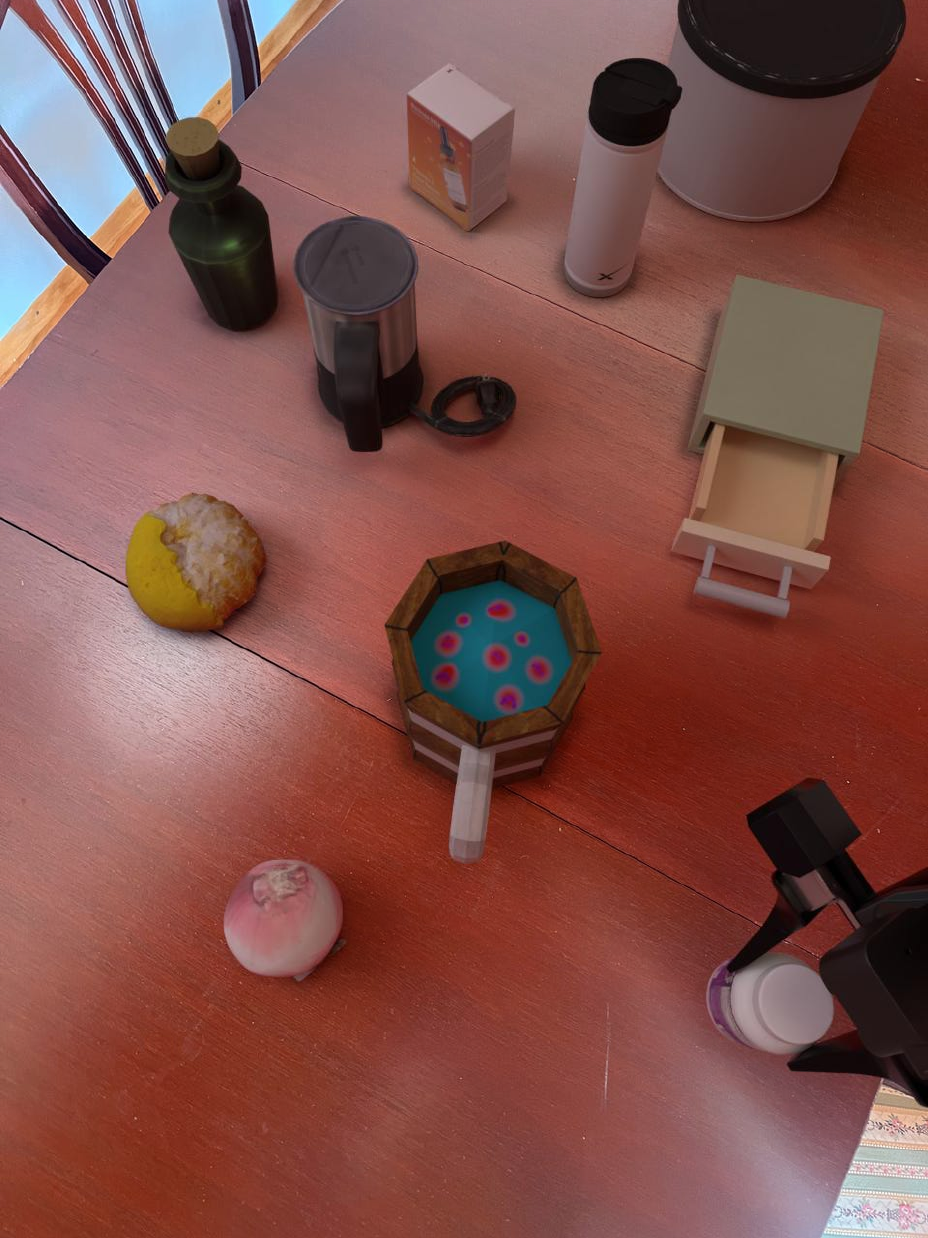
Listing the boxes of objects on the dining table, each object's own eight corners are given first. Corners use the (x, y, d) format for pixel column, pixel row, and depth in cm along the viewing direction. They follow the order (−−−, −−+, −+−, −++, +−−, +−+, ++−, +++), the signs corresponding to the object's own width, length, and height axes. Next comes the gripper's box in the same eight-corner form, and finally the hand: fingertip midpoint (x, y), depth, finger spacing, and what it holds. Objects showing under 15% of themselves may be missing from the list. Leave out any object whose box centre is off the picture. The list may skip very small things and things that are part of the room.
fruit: (278, 632, 74) (226, 598, 67) (159, 653, 77) (96, 622, 69) (276, 503, 78) (227, 458, 71) (163, 527, 81) (104, 486, 73)
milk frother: (306, 354, 84) (278, 229, 70) (475, 311, 86) (480, 181, 72) (349, 490, 79) (328, 384, 66) (528, 440, 81) (544, 328, 68)
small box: (408, 188, 92) (403, 91, 82) (449, 157, 93) (448, 58, 83) (468, 234, 90) (471, 140, 80) (509, 201, 91) (516, 105, 81)
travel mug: (615, 310, 87) (661, 122, 68) (551, 281, 88) (578, 88, 69) (645, 262, 89) (697, 68, 70) (581, 234, 90) (616, 35, 71)
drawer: (802, 637, 74) (820, 619, 71) (659, 597, 75) (669, 578, 72) (836, 449, 80) (854, 424, 77) (703, 415, 82) (715, 388, 78)
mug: (410, 613, 75) (400, 527, 61) (580, 634, 75) (610, 552, 61) (369, 866, 68) (348, 833, 54) (557, 891, 68) (584, 865, 54)
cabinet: (833, 488, 80) (860, 453, 75) (686, 450, 81) (703, 413, 76) (858, 351, 85) (884, 309, 80) (719, 317, 86) (736, 273, 81)
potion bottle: (210, 261, 88) (153, 88, 71) (296, 273, 88) (259, 102, 71) (186, 333, 85) (121, 170, 68) (276, 345, 85) (232, 185, 68)
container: (611, 118, 95) (638, -33, 81) (766, 56, 99) (819, -98, 85) (716, 250, 89) (765, 112, 75) (878, 180, 93) (953, 35, 79)
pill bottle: (769, 943, 60) (823, 936, 51) (804, 1031, 58) (867, 1039, 49) (689, 970, 60) (730, 967, 51) (722, 1060, 58) (771, 1073, 49)
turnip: (350, 865, 68) (339, 851, 62) (348, 980, 65) (336, 979, 59) (238, 867, 68) (215, 853, 61) (231, 983, 65) (205, 982, 59)
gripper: (846, 754, 41) (595, 907, 49) (1159, 1187, 35) (815, 1278, 43) (909, 715, 50) (687, 850, 58) (1168, 1057, 44) (880, 1153, 52)
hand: (759, 1015), depth 53 cm, fingers closed on pill bottle, 5 cm apart
